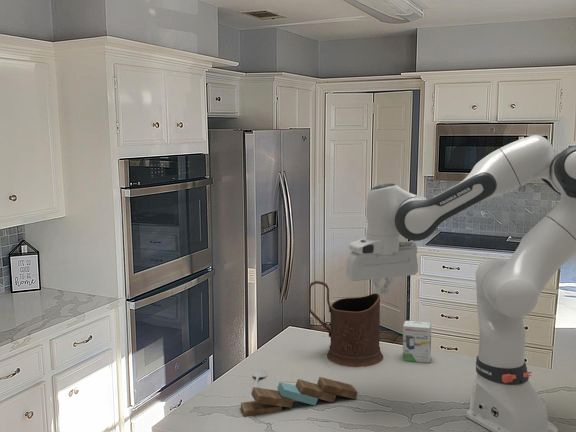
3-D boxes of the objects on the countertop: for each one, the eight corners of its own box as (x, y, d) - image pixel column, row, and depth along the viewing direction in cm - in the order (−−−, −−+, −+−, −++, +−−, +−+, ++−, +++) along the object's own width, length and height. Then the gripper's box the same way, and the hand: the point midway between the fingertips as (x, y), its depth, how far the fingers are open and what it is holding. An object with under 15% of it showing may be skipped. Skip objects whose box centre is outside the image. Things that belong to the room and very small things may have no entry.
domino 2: (277, 397, 156) (240, 402, 153) (282, 406, 151) (244, 411, 149) (277, 404, 156) (240, 409, 154) (282, 413, 152) (244, 418, 149)
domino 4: (330, 388, 161) (298, 378, 158) (336, 395, 156) (303, 386, 153) (327, 394, 161) (295, 385, 158) (333, 402, 156) (300, 393, 153)
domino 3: (312, 390, 159) (279, 381, 156) (318, 398, 154) (284, 389, 152) (310, 397, 159) (277, 388, 156) (315, 405, 154) (281, 396, 152)
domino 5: (352, 384, 162) (319, 376, 160) (357, 392, 158) (324, 384, 155) (349, 391, 162) (317, 383, 160) (355, 399, 158) (322, 391, 155)
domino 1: (287, 392, 157) (253, 387, 153) (293, 400, 152) (258, 395, 148) (285, 398, 157) (251, 394, 153) (291, 407, 152) (256, 402, 149)
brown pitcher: (387, 367, 179) (388, 288, 175) (309, 367, 180) (309, 289, 176) (379, 345, 197) (380, 273, 194) (308, 345, 198) (308, 274, 194)
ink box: (430, 357, 186) (431, 322, 184) (429, 363, 181) (430, 327, 180) (403, 354, 189) (404, 320, 187) (402, 360, 184) (402, 325, 182)
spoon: (268, 372, 177) (268, 367, 177) (257, 404, 157) (257, 398, 156) (254, 372, 177) (254, 367, 177) (242, 403, 157) (241, 397, 157)
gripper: (411, 238, 163) (410, 286, 165) (343, 244, 157) (344, 294, 159) (422, 242, 157) (422, 292, 159) (353, 248, 151) (353, 300, 153)
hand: (382, 293), depth 159 cm, fingers closed
